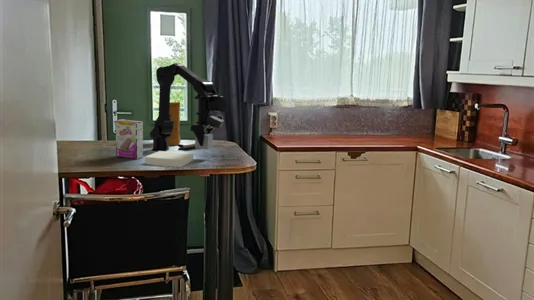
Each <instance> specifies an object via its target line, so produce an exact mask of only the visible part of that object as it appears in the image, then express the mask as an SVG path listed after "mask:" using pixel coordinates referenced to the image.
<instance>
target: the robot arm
mask: <svg viewBox="0 0 534 300" xmlns="http://www.w3.org/2000/svg"><path fill="white" fill-rule="evenodd" d="M155 74H156V75H155V76H156V77H155V78H156V81H157V83H158V86H159V93H158V94H159V95H158V96H159V97H158V117H156V119H155V122H154V127H153V128H152V130H151V131H150V132H149V136H150V137H149V138H152V149H151V151H155V152H158V151H168V150H169V149H170V146H169V140H168V137H170V136H171V132H172V130H173V129H174V128H173V123H174V122H173V121H171V119H170V117H169V110H170V103H171V89H172V88H171V87H172V85H173V83H174V81H175V77H176V76H180V77H181V78H183V79H184V80H185V81H186V82H188V83H189V84H191V86H192V88H193V90H194V91H195V92H196V94H197V95H195V97H194V99H195V100H197V111H196V116H197V121H196V122H195V123H193V124H191V125H190V129H189V130H190V132H193V133H194V135H195V136H196V138H197V140H198V142H199V144H200V146H203V142H204V135H205V134H206V133H208V134H212V132H213V131H214V130H215V129H216V128H217V129H221V128H222V126H223V124H225V120H224V116H222V115H218V116H214V113H213V112H218V113H224V112H225V111H226V110H227V102H226V100H225V98H224V96H222V95H221V96H220V95H219V94H218V93H217V90H216V88H215V86H214V82H212V81H210V80H208V79H206V78H202V77H200V76H199V75H197V74H195V73H194V72H193V71H192V70H190V69H189V68H188V67H186V66H185V65H184V64H183V63H178V62H174V63H172V64H170V65H165V66H159V67H158V68H156V72H155ZM195 136H194V137H195Z"/></svg>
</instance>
